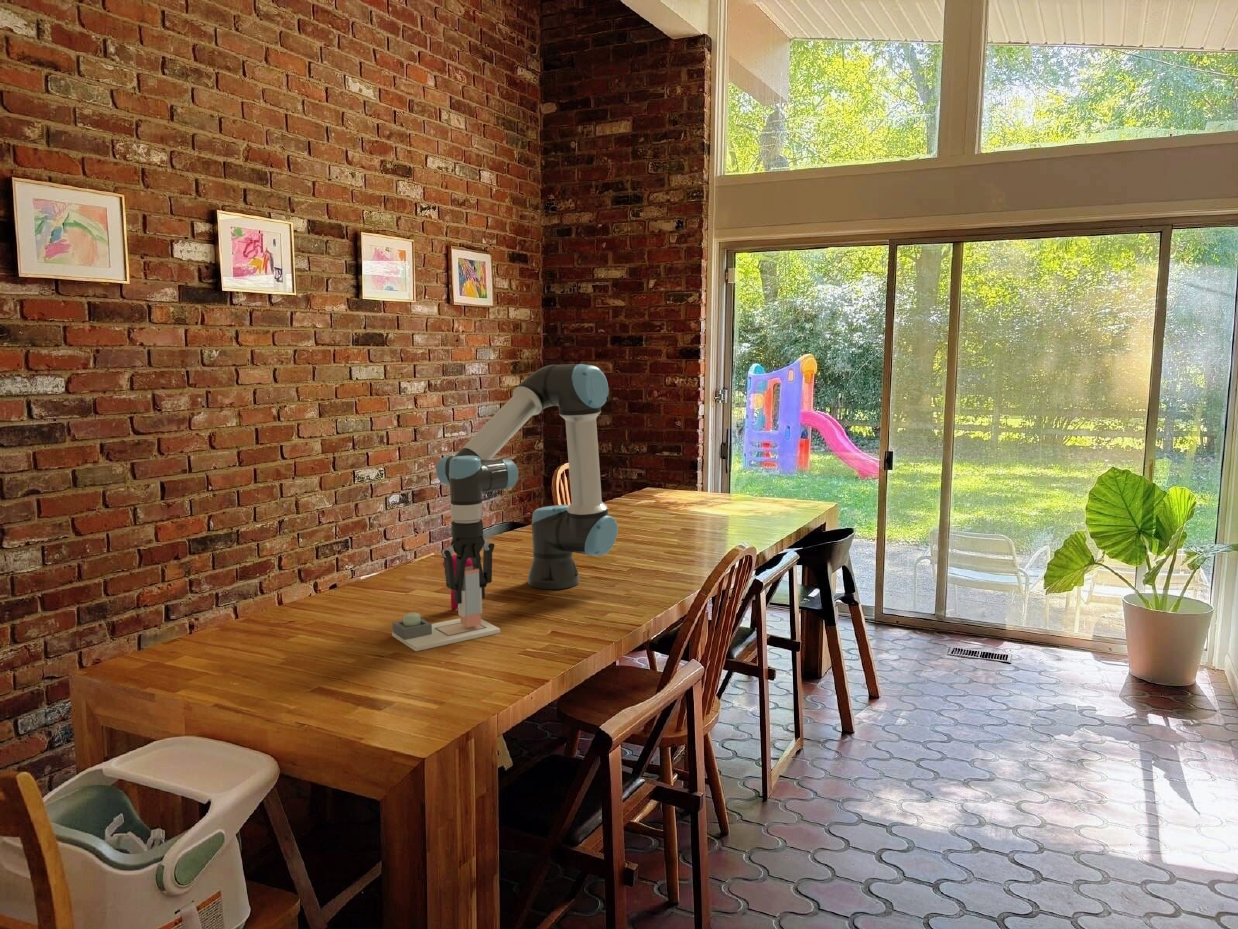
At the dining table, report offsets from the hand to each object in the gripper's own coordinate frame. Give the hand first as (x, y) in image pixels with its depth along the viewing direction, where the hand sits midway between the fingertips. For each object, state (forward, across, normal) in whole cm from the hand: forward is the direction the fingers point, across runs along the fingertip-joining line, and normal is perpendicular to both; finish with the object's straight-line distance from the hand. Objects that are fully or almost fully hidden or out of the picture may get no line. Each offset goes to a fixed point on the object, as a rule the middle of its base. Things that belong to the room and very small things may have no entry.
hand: (470, 613), depth 216 cm
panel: (+5, +6, -2) cm, 7 cm away
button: (+2, +13, -5) cm, 14 cm away
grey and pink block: (+3, 0, 0) cm, 3 cm away
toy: (+5, -6, -19) cm, 20 cm away
